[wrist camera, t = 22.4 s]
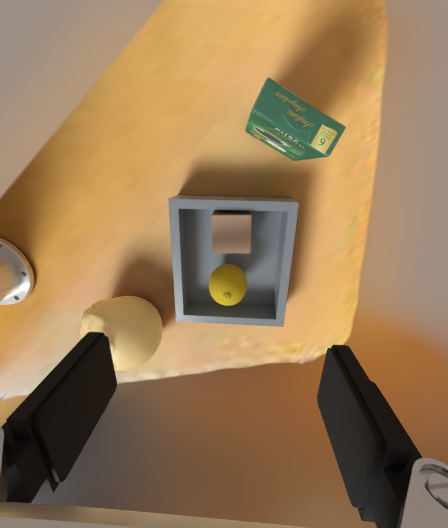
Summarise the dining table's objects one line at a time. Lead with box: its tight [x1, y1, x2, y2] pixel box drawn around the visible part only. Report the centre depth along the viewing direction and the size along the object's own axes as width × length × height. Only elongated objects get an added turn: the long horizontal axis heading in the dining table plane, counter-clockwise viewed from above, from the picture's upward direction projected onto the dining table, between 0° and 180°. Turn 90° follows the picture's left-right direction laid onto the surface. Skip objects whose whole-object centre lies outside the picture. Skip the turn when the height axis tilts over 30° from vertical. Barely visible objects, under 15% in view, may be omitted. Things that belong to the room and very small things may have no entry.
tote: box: [169, 195, 299, 327], centre depth 36 cm, size 16×18×5 cm
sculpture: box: [80, 296, 163, 371], centre depth 39 cm, size 12×12×11 cm
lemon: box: [209, 264, 247, 306], centre depth 35 cm, size 6×6×8 cm
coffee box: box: [246, 78, 345, 161], centre depth 26 cm, size 8×3×13 cm, turn 62°
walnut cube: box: [211, 210, 251, 253], centre depth 34 cm, size 5×5×5 cm
